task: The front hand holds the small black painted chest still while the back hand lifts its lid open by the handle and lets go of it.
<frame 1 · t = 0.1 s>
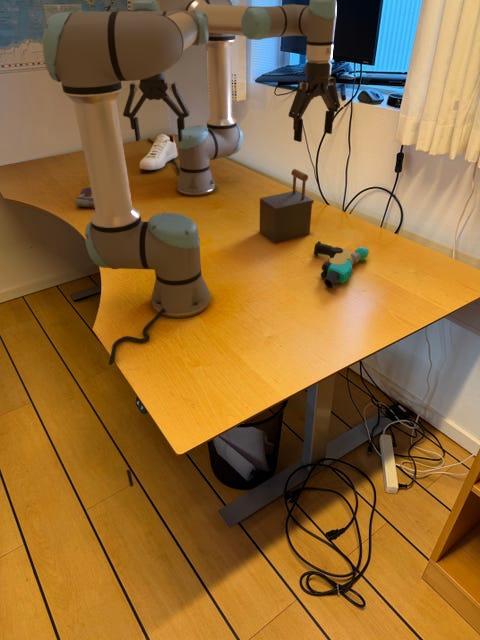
front hand: (159, 140, 150), 28 cm above the table, tool pointing down, fingers open, 13 cm apart
back hand: (313, 137, 151), 28 cm above the table, tool pointing down, fingers open, 13 cm apart
toy gun: (102, 203, 181), on the table
toy gun 2: (331, 270, 138), on the table
sneaker: (158, 164, 218), on the table
chest: (284, 233, 158), on the table
lid: (287, 188, 150), point 15 cm above the table, hinge at 0.0°
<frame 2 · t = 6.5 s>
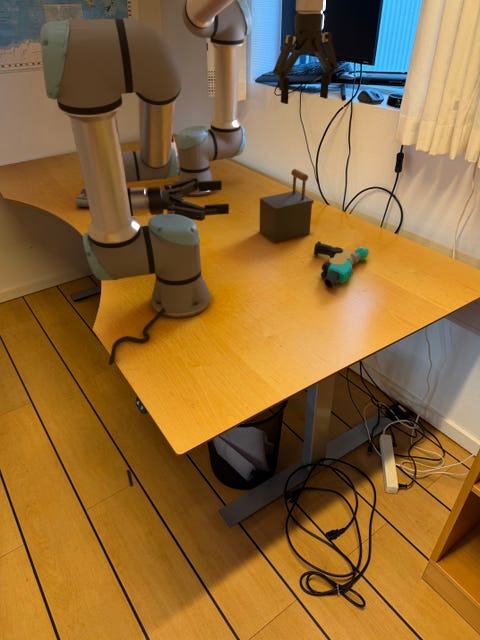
front hand: (224, 196, 133), 20 cm above the table, tool horizontal, fingers open, 13 cm apart
back hand: (304, 100, 136), 40 cm above the table, tool pointing down, fingers open, 13 cm apart
nothing on the table moved.
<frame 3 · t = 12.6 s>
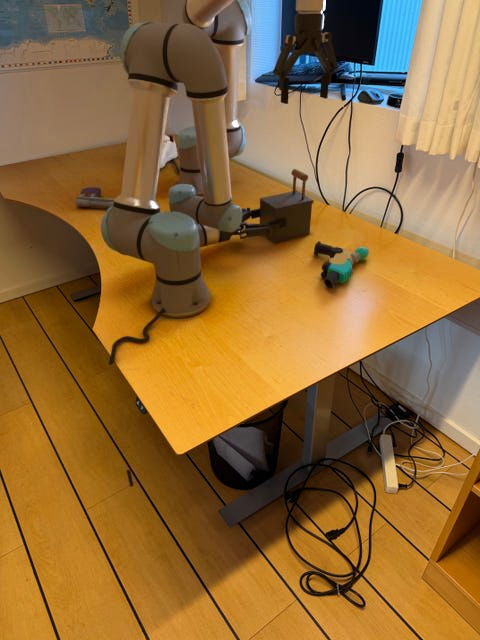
front hand: (277, 216, 153), 7 cm above the table, tool horizontal, fingers closed on chest, 10 cm apart
back hand: (304, 100, 136), 40 cm above the table, tool pointing down, fingers open, 13 cm apart
chest: (284, 233, 158), on the table, touching front hand
everything else where it was.
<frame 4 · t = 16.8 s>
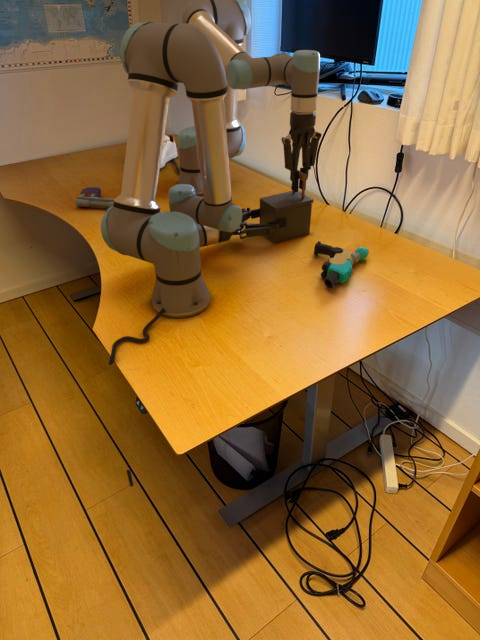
front hand: (276, 216, 153), 7 cm above the table, tool horizontal, fingers closed on chest, 10 cm apart
back hand: (298, 189, 152), 14 cm above the table, tool pointing down, fingers closed on lid, 2 cm apart
chest: (284, 233, 158), on the table, touching front hand
lid: (287, 188, 150), point 15 cm above the table, hinge at 0.5°, touching back hand
everything else where it was.
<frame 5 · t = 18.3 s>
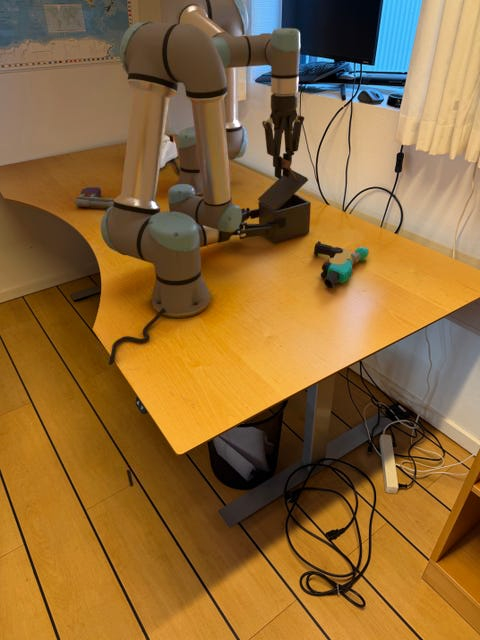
front hand: (276, 216, 153), 7 cm above the table, tool horizontal, fingers closed on chest, 10 cm apart
back hand: (281, 176, 146), 19 cm above the table, tool pointing down, fingers closed on lid, 2 cm apart
chest: (284, 232, 158), on the table, touching front hand
lid: (276, 180, 146), point 18 cm above the table, hinge at 31.7°, touching back hand
everything else where it was.
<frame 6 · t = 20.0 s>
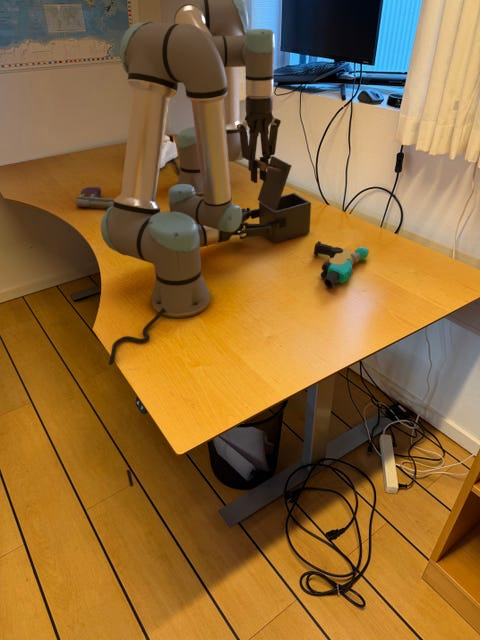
front hand: (276, 216, 153), 7 cm above the table, tool horizontal, fingers closed on chest, 10 cm apart
back hand: (258, 180, 143), 20 cm above the table, tool pointing down, fingers closed on lid, 2 cm apart
chest: (284, 232, 158), on the table, touching front hand
lid: (263, 181, 144), point 19 cm above the table, hinge at 67.6°, touching back hand
everything else where it was.
when the front hand's fingers open (7 cm above the table, at t = 23.9 s): chest stays where it is, on the table.
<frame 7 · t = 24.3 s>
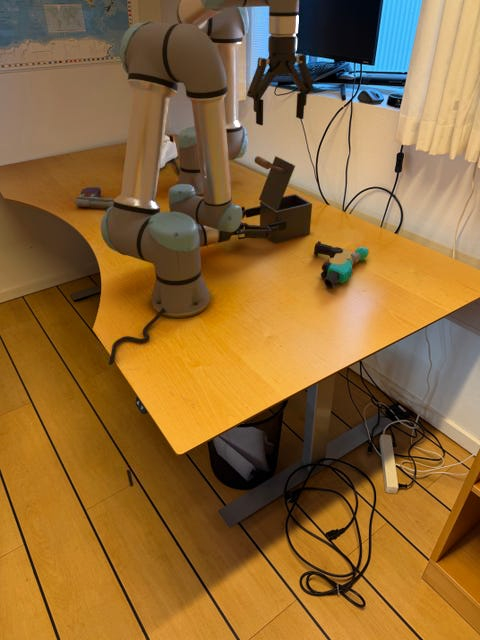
front hand: (274, 216, 153), 7 cm above the table, tool horizontal, fingers open, 13 cm apart
back hand: (279, 121, 136), 36 cm above the table, tool pointing down, fingers open, 13 cm apart
chest: (284, 232, 159), on the table
lid: (266, 180, 144), point 19 cm above the table, hinge at 65.9°
everything else where it was.
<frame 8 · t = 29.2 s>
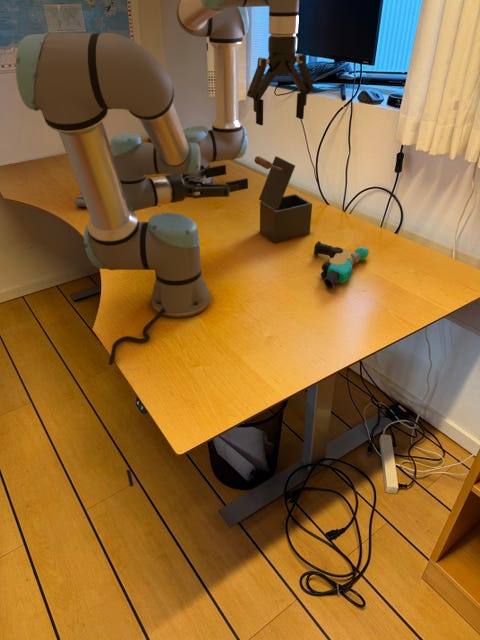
front hand: (236, 176, 139), 22 cm above the table, tool horizontal, fingers open, 13 cm apart
back hand: (279, 121, 136), 36 cm above the table, tool pointing down, fingers open, 13 cm apart
nothing on the table moved.
at the end: lid at +66° (first picture: +0°); the front hand is holding nothing; the back hand is holding nothing; chest tilted 0°; chest never tilted more than 3° during the clip; chest moved 0.2 cm from its start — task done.
